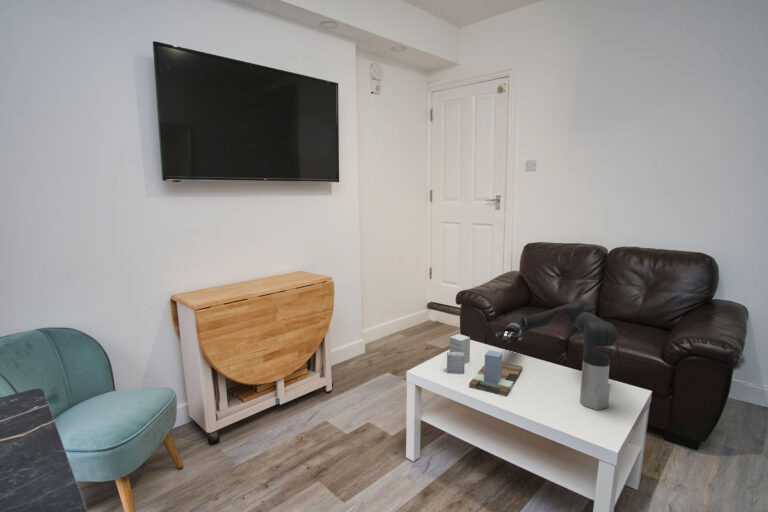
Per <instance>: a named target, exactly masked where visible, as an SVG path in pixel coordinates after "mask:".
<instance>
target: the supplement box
mask: <svg viewBox="0 0 768 512" xmlns="http://www.w3.org/2000/svg"><path fill="white" fill-rule="evenodd" d="M449 352H461V353H464V356H465V360H464V364H466V363H469V362H470V359H471V357H470V356H471V337H470V336H467V335H465V334H461V333H457V334H455V335H451V336H449Z"/></svg>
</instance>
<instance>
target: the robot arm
mask: <svg viewBox="0 0 768 512" xmlns="http://www.w3.org/2000/svg"><path fill="white" fill-rule="evenodd" d="M585 305H586V304H585V303H584V302H583V301H574V302H569V303H566V304H564V305H561V306H557V307H554V308H552V309H549V310H546V311H543V312H537V313H534V314H533V313H532V314H530V315H528V316H527V317H526V319H525V317H524V315H522V314H521V313H517V314H514V315H512V316H511V317H510V319H509V324H508V325H507V326H506V327H505V328H504V329H503V331H500V332H499V331H496V332H495V338H497V339H498V340H500V341H501V343H502V344H505V345H506V344H508V343H510V342H511V343H515V342H516V343H517V342H522V341H523V340H522V339H523V337H522V336H523V335H522V334H524V333H527V332H529V331H530V330H532V329H536V328H543V327H546V326H548V325H550V324H551V323H552V322H553V321H554V320H555V319H556V318H557V317H558V316H560V314H562V313H565V314H566V317H567V320H568V322H569V323H570V325H571V326H573V327H575V328H577V329H578V331H580V332H581V333H582V334H583V352H582V353H583V355H582V368H581V381H580V396H579V402H580V404H582V405H583V406H584V407H586V408H590V409H593V410H595V411H600V410H604V409H608V408H609V405H610V393H611V384H610V383H609V376H610V375H609V374H610V366H611V365H610V363H611V359H610V356H609V355H608V354H606V353H604V352H602V351H600V350H597V349H596V348H595V346H596V347H606V348H607V347H613V346H614V345H616V343H617V341H618V336H619V335H618V331H617V328H616V327H615V325H614V324H613V323H611V322H608V321H605V320H603V319H602V318H600V317H598V316H597V315H596V314H594V313H592V312H588V310H587V307H586V306H585Z"/></svg>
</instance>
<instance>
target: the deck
mask: <svg viewBox="0 0 768 512" xmlns="http://www.w3.org/2000/svg"><path fill="white" fill-rule="evenodd" d="M484 366H485V364H484V365H483V366H482V367H481V369H479V370H478V372H477V373H476V374H482V375H484ZM523 367H524V366H522V365H519V364H518V365H517V364H513V363H508V362H503V361H502V376H501V379H504V380H509V381H513V386H515V384H516V382H517V381H518V379H519V376H520V375H521V374H520V373H522V371H523ZM468 385H469V388H471V389H475V390H479V391H483V392H486V393H487V392H488V393H492V394H496V395H500V396H504V397H508V396H509V394H510V392H511V391H510V387H508V386H504V385H503V386H502V388H501V389H500V388H496V387H491V386H487V385H483V384H480V380H477V379H473V378H472V379H471V380H470V382H469V384H468Z"/></svg>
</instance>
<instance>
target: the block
mask: <svg viewBox="0 0 768 512" xmlns="http://www.w3.org/2000/svg"><path fill="white" fill-rule="evenodd" d="M503 355H504V354H503V352H501V351H495V350H491V349H489V350H488V351H486V353H485V354H484V365H485V366H484V365H483V366H484V381H486V382H491V383H495V384H498V383H499V382H500V380H501V376H502V362H503Z"/></svg>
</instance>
